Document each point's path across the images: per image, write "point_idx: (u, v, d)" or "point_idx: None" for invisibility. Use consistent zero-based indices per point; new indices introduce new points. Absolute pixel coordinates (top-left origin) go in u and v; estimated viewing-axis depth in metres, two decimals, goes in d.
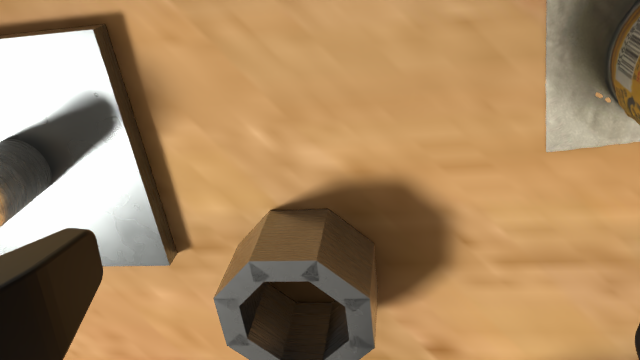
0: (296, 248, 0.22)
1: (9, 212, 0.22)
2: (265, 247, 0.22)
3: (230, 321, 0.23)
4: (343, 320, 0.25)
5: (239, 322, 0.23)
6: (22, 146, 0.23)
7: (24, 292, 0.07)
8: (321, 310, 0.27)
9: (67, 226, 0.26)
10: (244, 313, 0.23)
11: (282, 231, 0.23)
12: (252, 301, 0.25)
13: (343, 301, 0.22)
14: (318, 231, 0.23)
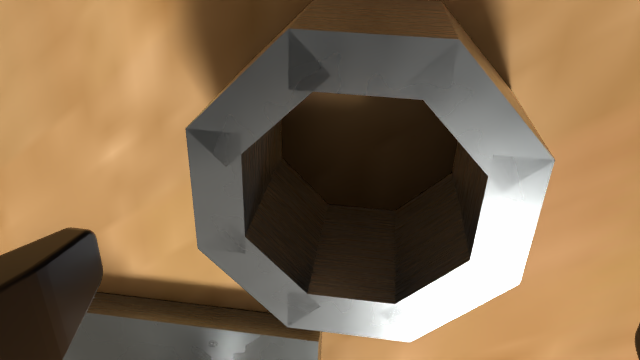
0: None
1: None
2: None
3: (346, 318, 0.12)
4: None
5: (349, 304, 0.12)
6: None
7: (24, 292, 0.07)
8: None
9: None
10: (343, 287, 0.12)
11: None
12: (361, 257, 0.13)
13: (297, 92, 0.09)
14: None
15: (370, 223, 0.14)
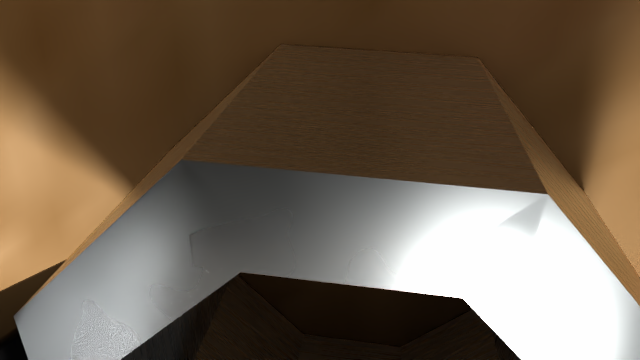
0: None
1: None
2: None
3: None
4: None
5: None
6: None
7: None
8: None
9: None
10: None
11: None
12: None
13: (210, 271, 0.05)
14: None
15: None
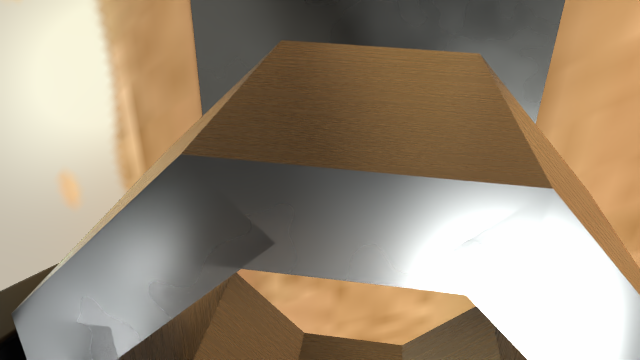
0: None
1: None
2: None
3: None
4: None
5: None
6: None
7: None
8: None
9: None
10: None
11: None
12: None
13: (210, 268, 0.05)
14: None
15: None
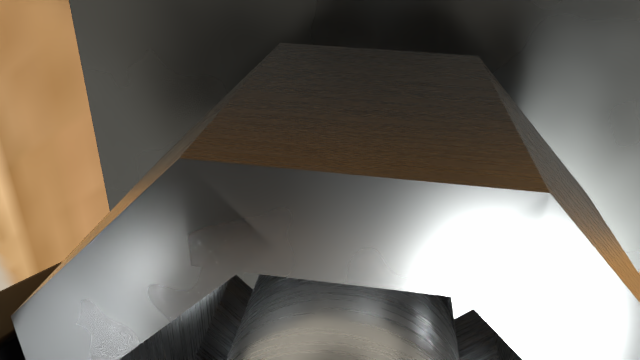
0: None
1: None
2: None
3: None
4: None
5: None
6: None
7: None
8: None
9: None
10: None
11: None
12: None
13: (208, 271, 0.05)
14: None
15: None
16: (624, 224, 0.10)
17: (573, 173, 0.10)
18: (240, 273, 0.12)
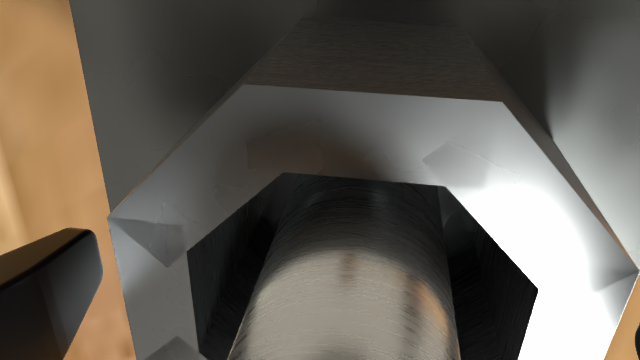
0: None
1: (405, 217, 0.08)
2: None
3: None
4: None
5: None
6: None
7: (24, 292, 0.07)
8: None
9: None
10: None
11: None
12: None
13: (260, 172, 0.06)
14: None
15: None
16: (625, 224, 0.10)
17: None
18: None
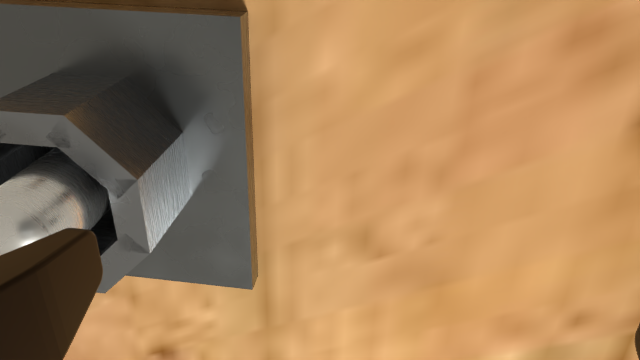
0: None
1: (72, 164, 0.17)
2: None
3: None
4: None
5: None
6: None
7: (24, 292, 0.07)
8: None
9: None
10: None
11: None
12: None
13: None
14: None
15: (112, 219, 0.21)
16: (231, 175, 0.20)
17: (198, 148, 0.20)
18: None
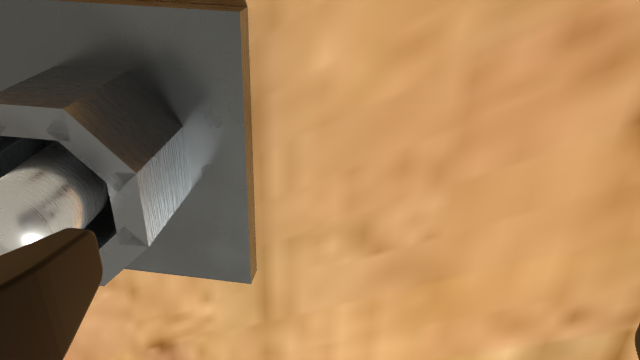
0: None
1: (72, 157, 0.18)
2: None
3: None
4: None
5: None
6: None
7: (24, 292, 0.07)
8: None
9: None
10: None
11: None
12: None
13: None
14: None
15: (111, 213, 0.21)
16: (230, 169, 0.20)
17: (198, 143, 0.20)
18: None
